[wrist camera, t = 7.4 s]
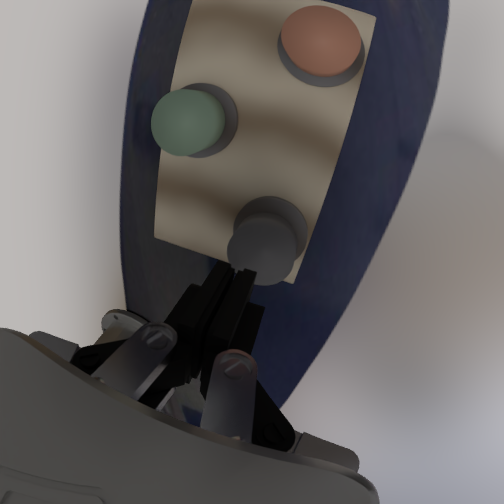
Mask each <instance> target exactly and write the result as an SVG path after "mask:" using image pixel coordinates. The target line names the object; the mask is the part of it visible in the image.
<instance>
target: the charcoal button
mask: <svg viewBox="0 0 504 504" xmlns="http://www.w3.org/2000/svg"><path fill="white" fill-rule="evenodd" d="M297 245H298V240H297V235H296V233H295V231H294V229H293V227H292V226H291V225H290V223H289V222H288V221H286V220H285V219H284V218H282V217H280V216H279V215H276V214H273V213H267V212H261V213H256V214H253V215H250V216H249V217H247V218H246V219H245V220H243V222H242V223H241V224H240V226H239V227H238V228H237V230H236V231H235V233H234V234H233V236H232V237H231V239H230V240H229V243H228V246H227V258H228V261H229V263H230V264H231V267H232V268H234V269H235V273H236V274H237V272H238V270H241V271H243V270H244V268H246V269H249V270H252V271H256V272H257V275H256V279H255V282H254V284H256V285H273V284H276V283H279V282H281V281H282V280H284V279H285V278H286V277H287V276H288V275H289V274H290V272H291V271H292V268H293V265H294V261H295V256H296V251H297Z"/></svg>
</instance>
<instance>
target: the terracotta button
mask: <svg viewBox="0 0 504 504" xmlns="http://www.w3.org/2000/svg"><path fill="white" fill-rule="evenodd" d="M281 40H282V44H283V46H284V49H285V51H286V52H287V54H288V56H289V57H290V59H291V60H292V62H293V63H294V64H295V65H296V66H297V67H298V68H300V69H301V70H302V71H304V72H306V73H308V74H311V75H314V76H319V77H331V76H335V75H338V74H341V73H343V72H344V71H346V70H347V69H348V68H349V67H350V66H351V65H352V64H353V62H354V60H355V59H356V57H357V56H358V54H359V51H360V48H361V37H360V33H359V30H358V28H357V26H356V25H355V23H354V22H353V21H352V20H351V19H350V18H349V17H348V16H347V15H345V14H344V13H342V12H341V11H339V10H337V9H334V8H331V7H327V6H320V5H313V6H307V7H303V8H301V9H298V10H296V11H295V12H293V13H292V14H291V15H290V16H289V17H288V18H287V19H286V20H285V22H284V24H283V27H282V31H281Z"/></svg>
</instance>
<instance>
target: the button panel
mask: <svg viewBox="0 0 504 504" xmlns="http://www.w3.org/2000/svg"><path fill="white" fill-rule="evenodd" d="M313 5H320V6H327V7H331V8H334V9H337V10H339V11H341V12H342V13H344V14H345V15H347V16H348V17H349V18H350V19H351V20H352V21H353V22H354V23H355V25H356V26H357V28H358V30H359V33H360V37H361V48H360V51H359V54H358V56H357V57H356V59H355V60H354V62H353V64H352V65H351V66H350V67H349V68H348V69H347V70H346V71H344V72H343V73H341V74H338V75H335V76H331V77H319V76H314V75H311V74H308V73H306V72H304V71H302V70H301V69H300V68H298V67H297V66H296V65H295V64H294V63H293V62H292V60H291V59H290V57H289V56H288V54H287V52H286V51H285V49H284V46H283V44H282V40H281V31H282V27H283V24H284V22H285V20H286V19H287V18H288V17H289V16H290V15H291V14H292V13H293V12H295V11H296V10H298V9H301V8H303V7H307V6H313ZM375 21H376V17H374V16H372V15H369V14H366V13H363V12H360V11H357V10H354V9H350V8H347V7H344V6H340V5H336V4H333V3H329V2H325V1H321V0H193V2H192V5H191V8H190V11H189V15H188V18H187V22H186V25H185V29H184V33H183V37H182V40H181V44H180V49H179V53H178V57H177V61H176V66H175V70H174V75H173V80H172V85H171V90H170V92H172V91H175V90H179V89H188V90H198V91H204V92H207V93H210V94H211V95H213V96H214V97H215V98H216V99H218V101H219V102H220V103H221V105H222V107H223V110H224V113H225V127H224V130H223V133H222V135H221V136H220V138H219V139H218V141H217V142H216V143H215V144H213V145H212V146H211V147H209V148H207V149H204V150H202V151H199V152H196V153H194V154H191V155H188V156H175V155H171V154H169V153H167V152H166V151H164V150H163V149H162V148H161V155H160V164H159V174H158V184H157V196H156V210H155V227H154V237H155V238H158V239H161V240H164V241H167V242H170V243H172V244H175V245H178V246H181V247H184V248H187V249H190V250H193V251H196V252H199V253H202V254H204V255H207V256H210V257H213V258H216V259H219V260H222V261H225V262H228V263H229V261H228V258H227V246H228V243H229V240H230V239H231V237H232V236H233V234H234V233H235V231H236V230H237V228H238V227H239V226H240V224H241V223H242V222H243V220H245V219H246V218H247V217H249V216H250V215H253V214H256V213H261V212H267V213H273V214H276V215H279V216H280V217H282V218H284V219H285V220H286V221H288V222H289V223H290V225H291V226H292V227H293V229H294V231H295V233H296V235H297V240H298V245H297V251H296V256H295V261H294V265H293V268H292V271H291V272H290V274H289V275H288V276H287V277H286V278H285V279H284V280H283V281H286V282H289V283H292V284H293V283H294V280H295V278H296V275H297V273H298V270H299V267H300V265H301V262H302V260H303V257H304V254H305V252H306V249H307V246H308V244H309V241H310V238H311V235H312V233H313V230H314V227H315V224H316V222H317V219H318V216H319V213H320V210H321V207H322V205H323V202H324V199H325V196H326V193H327V190H328V187H329V184H330V181H331V178H332V175H333V172H334V169H335V166H336V163H337V160H338V157H339V154H340V150H341V147H342V144H343V141H344V138H345V134H346V131H347V128H348V124H349V121H350V118H351V114H352V111H353V107H354V104H355V100H356V97H357V93H358V89H359V86H360V82H361V78H362V75H363V71H364V67H365V63H366V59H367V55H368V51H369V47H370V43H371V39H372V34H373V30H374V25H375Z"/></svg>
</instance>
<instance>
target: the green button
mask: <svg viewBox="0 0 504 504" xmlns="http://www.w3.org/2000/svg"><path fill="white" fill-rule="evenodd" d="M224 127H225V113H224V110H223V107H222V105H221V103H220V102H219V101H218V99H216V98H215V97H214V96H213V95H211V94H210V93H207V92H204V91H198V90H188V89H179V90H175V91H172V92H170V93H168V94H166V95H165V96H164V97H162V98H161V99H160V101H159V102H158V103H157V105H156V106H155V109H154V111H153V114H152V118H151V128H152V133H153V136H154V139H155V141H156V142H157V144H158V145H159V146H160V147H161V148H162V149H163V150H164V151H166V152H167V153H169V154H171V155H175V156H188V155H191V154H194V153H196V152H199V151H202V150H204V149H207V148H209V147H211V146H212V145H213V144H215V143H216V142H217V141H218V139H219V138H220V136H221V135H222V133H223V130H224Z"/></svg>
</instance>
